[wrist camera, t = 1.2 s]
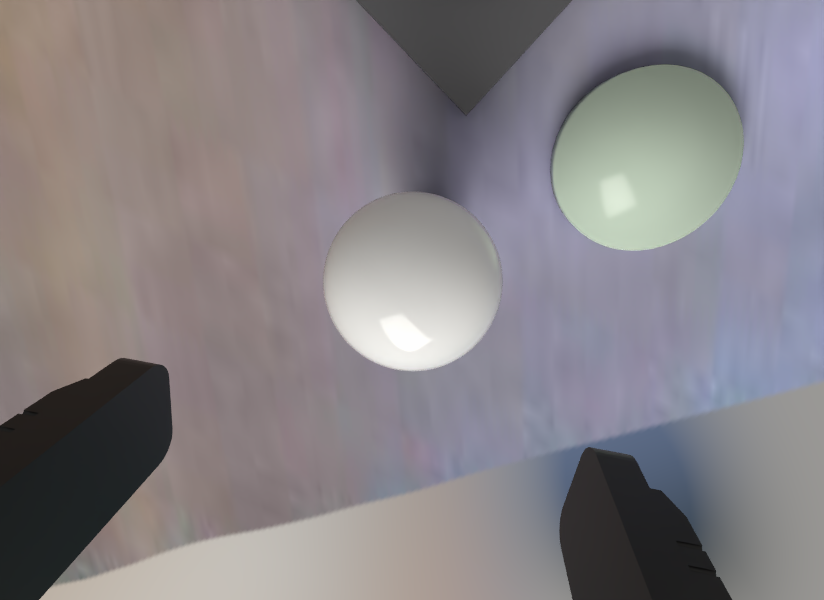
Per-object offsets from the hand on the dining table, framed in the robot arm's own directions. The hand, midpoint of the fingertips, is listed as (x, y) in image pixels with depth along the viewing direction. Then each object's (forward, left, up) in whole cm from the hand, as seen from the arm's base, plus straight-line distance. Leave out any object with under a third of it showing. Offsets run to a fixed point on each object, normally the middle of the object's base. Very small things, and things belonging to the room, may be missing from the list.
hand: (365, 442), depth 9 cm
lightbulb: (0, 0, -17) cm, 17 cm away
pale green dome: (+3, +10, -16) cm, 19 cm away
